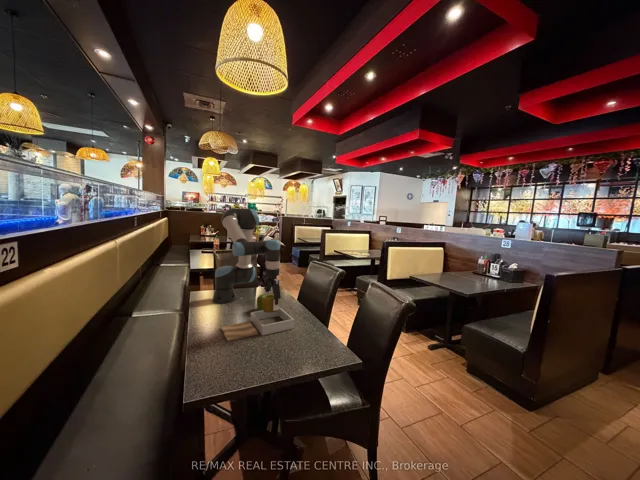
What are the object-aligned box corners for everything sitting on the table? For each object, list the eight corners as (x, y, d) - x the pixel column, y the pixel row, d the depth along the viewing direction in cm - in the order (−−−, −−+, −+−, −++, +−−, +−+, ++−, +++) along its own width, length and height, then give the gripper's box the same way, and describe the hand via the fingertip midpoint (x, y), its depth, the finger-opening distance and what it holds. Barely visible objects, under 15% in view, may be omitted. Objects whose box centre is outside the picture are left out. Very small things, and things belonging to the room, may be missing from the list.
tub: (250, 320, 147) (250, 312, 147) (279, 315, 157) (279, 307, 156) (262, 335, 131) (262, 326, 130) (294, 328, 140) (294, 319, 139)
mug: (277, 312, 135) (273, 293, 136) (260, 315, 137) (256, 297, 138) (286, 308, 146) (283, 291, 148) (270, 311, 149) (267, 294, 150)
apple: (273, 306, 170) (273, 290, 169) (275, 312, 160) (276, 295, 159) (256, 308, 167) (256, 291, 166) (257, 314, 157) (257, 297, 155)
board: (221, 328, 137) (221, 326, 136) (249, 323, 145) (249, 320, 144) (227, 341, 124) (227, 338, 124) (257, 334, 132) (257, 332, 132)
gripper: (258, 264, 148) (258, 300, 151) (274, 273, 128) (273, 315, 131) (271, 263, 152) (270, 298, 155) (287, 272, 132) (286, 312, 135)
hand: (271, 306), depth 143 cm, fingers closed on mug, 11 cm apart
